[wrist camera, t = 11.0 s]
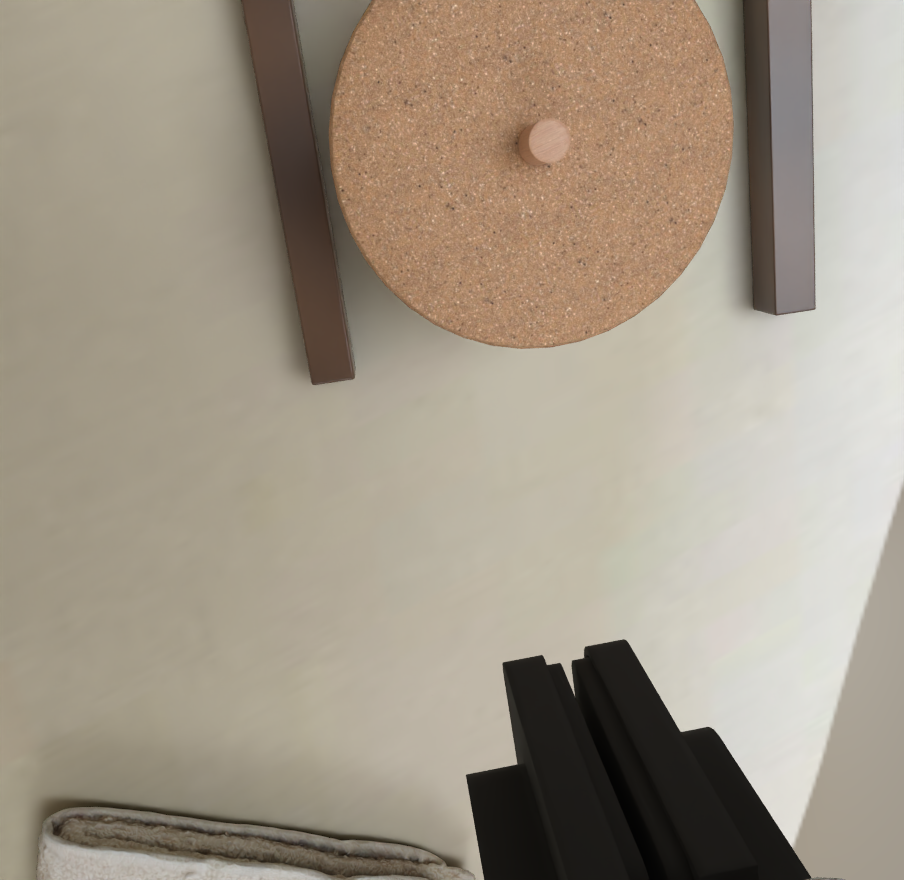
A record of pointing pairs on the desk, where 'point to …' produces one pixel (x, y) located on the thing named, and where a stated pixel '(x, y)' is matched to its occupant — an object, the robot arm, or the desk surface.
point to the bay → (769, 145)
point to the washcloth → (215, 851)
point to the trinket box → (530, 158)
